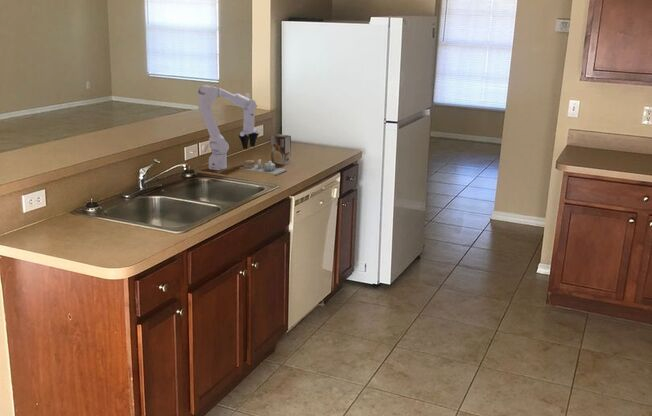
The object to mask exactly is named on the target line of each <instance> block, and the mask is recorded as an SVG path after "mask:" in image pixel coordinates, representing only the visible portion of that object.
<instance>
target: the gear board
mask: <svg viewBox="0 0 652 416" xmlns="http://www.w3.org/2000/svg"><path fill="white" fill-rule="evenodd" d="M239 169H240V170H248V171H252V172H253V171H254V172H261V173H267V174H274V177H277V176H280V175H283V174H285V173H286V172H288V169H287V168H282V167H276V163H272V161H271V160H269V161H267V163H264V165H262V159H257V164H255V167H253V168H246V167H244V165H243V166H240V167H239Z"/></svg>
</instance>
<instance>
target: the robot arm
mask: <svg viewBox="0 0 652 416" xmlns="http://www.w3.org/2000/svg"><path fill="white" fill-rule="evenodd" d="M196 92H197V107H198V109H199V112H200V114H201V117H202V119H203V122H204V125H205V127H206V130H207V131H208V134H209V139H208V141H209V147H210V149H211V153H212V154H211V155H209V157H208V169H209V170H214V171H220V170H225V169H227V153H228V151H229V149H230V145H229V143H228V142H227V141H226V138H224V136H223V135H222V134H221V131H220V129H219V127H218V124H217V122H216V119H215V116H214V114H213V112H212V108H211V106H212V104H213V103H214V102H215V100H216V99H217V98H221V97H222V98H225V99H227V100H229V101H231V103H232V104H233V105H235V106H238V107H239V108H242V110H243V127H242V129H243V130H242V131H241V132H239V133H240V134H239V135H238V137H239V140H240V142H241V145H242V149H244V150H247V149H248V148H249V147H248V145H249V146H250V147H255V145H256V141H257V139H258V137H259V132H258V129H257V128H256V127H255V112H256V109H257V107H258V104H257V103H256V101H255V100H254V99H252V98H250V99H249V97H248V96H244V95H242V93H240V92H238V93H231V92H229V91H227V90H225V89H223V88H220V87H216V86H213V85H209V84H201V85H200V86H199V88H198V90H197V91H196Z"/></svg>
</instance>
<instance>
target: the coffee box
mask: <svg viewBox="0 0 652 416" xmlns="http://www.w3.org/2000/svg"><path fill="white" fill-rule="evenodd" d="M270 137H271V138H270V139H271V142H270V143H271V148H270V149H271V153H270V154H271V155H270V158H271V160H270V161H272V163H273V164H276V165H277V164H278V165H284V166H287V165H288V164H291V162H292V161H291V158H292V156H291V154H292V153H291V151H292V150H291V149H292V147H291V146H292V144H291V143H292V135H288V134H280V133H276V134H272V135H271V136H270Z"/></svg>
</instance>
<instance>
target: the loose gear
mask: <svg viewBox="0 0 652 416" xmlns="http://www.w3.org/2000/svg"><path fill="white" fill-rule="evenodd" d="M255 162H256V161H255V160H252V159H247V160H244V161H243V166H244V167H246V168H253V167H255V165H256V164H255Z"/></svg>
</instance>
